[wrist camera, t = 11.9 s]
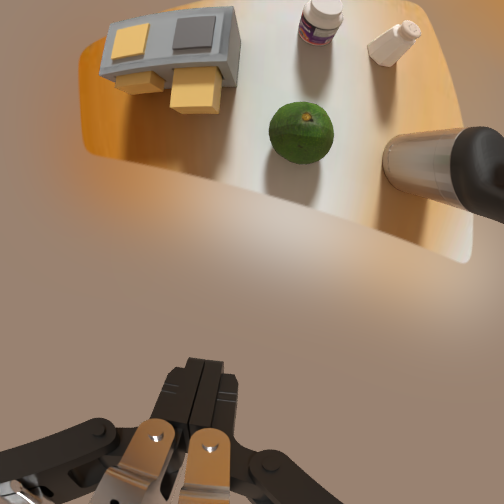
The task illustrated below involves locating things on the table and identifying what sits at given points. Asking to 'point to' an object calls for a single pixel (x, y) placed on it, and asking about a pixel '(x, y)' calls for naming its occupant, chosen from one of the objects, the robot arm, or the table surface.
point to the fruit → (301, 132)
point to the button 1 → (140, 83)
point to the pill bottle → (320, 21)
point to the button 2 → (196, 90)
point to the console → (174, 44)
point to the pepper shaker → (393, 43)
